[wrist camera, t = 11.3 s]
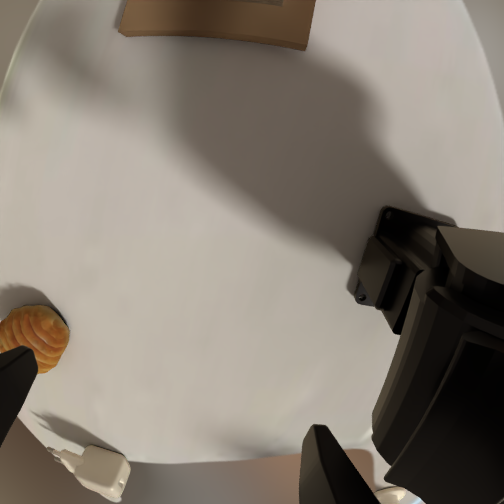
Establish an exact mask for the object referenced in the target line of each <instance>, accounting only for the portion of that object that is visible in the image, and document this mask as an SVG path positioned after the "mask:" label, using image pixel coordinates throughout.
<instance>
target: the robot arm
mask: <svg viewBox="0 0 504 504" xmlns="http://www.w3.org/2000/svg"><path fill="white" fill-rule="evenodd" d="M388 211H391V216H390V217H389V218H386V213H387V212H388ZM357 275H358V277H359V281H358V284H357V287H356V290H355V293H354V298H355V301H356V302H357V303H358V304H361V305H367V306H373V307H375V308H376V309H377V310H381V311H382V313H383V315H384V317H385V318H386V320H387V322H388V324H389V326H390V328H391V329H392V331H393V333H394V334H397V335H401V336H400V339H399V342H398V345H397V348H396V351H395V354H394V357H393V360H392V363H391V366H390V369H389V371H388V374H387V377H386V380H385V382H384V385H383V387H382V390H381V393H380V395H379V398H378V400H377V403H376V405H375V407H374V410H373V412H372V430H373V434H372V441H373V443H374V445H375V447H376V450H377V451H378V452H379V454H380V455H381V456H382V457H383V458H384V460H385V461H386V462H387V463H388V464H389V465H391V468H390V469H389V471H388V472H387V473H386V475H385V476H384V480H385V481H386V482H388V483H391V484H394V485H396V486H399V487H402V488H405V489H407V490H408V491H410V492H411V493H413V494H415V495H416V496H418V497H419V498H421V499H422V500H423V501H424V502H425V503H426V504H504V233H502V232H493V231H485V230H476V229H466V228H459V227H457V226H454V225H451V224H448V223H445V222H442V221H439V220H435V219H432V218H429V217H426V216H423V215H419V214H416V213H413V212H409V211H406V210H402V209H399V208H396V207H392V206H384V207H383V208H382V209H381V211H380V214H379V218H378V221H377V225H376V228H375V231H374V235H372V236H371V237H370V238H369V239H368V242H367V246H366V249H365V252H364V255H363V258H362V261H361V265H360V268H359V271H358V274H357ZM362 294H365V296H364V297H363V298H359V296H360V295H362ZM37 373H38V364H37V361H36V357H35V354H34V351H33V350H32V349H31V348H29V347H27V346H25V345H21V346H18V347H16V348H13V349H11V350H8V351H5V352H3V353H0V447H1V445H2V443H3V441H4V439H5V437H6V435H7V433H8V431H9V430H10V428H11V426H12V424H13V422H14V421H15V419H16V417H17V415H18V413H19V412H20V410H21V408H22V406H23V404H24V402H25V399H26V397H27V395H28V393H29V391H30V388H31V386H32V384H33V382H34V380H35V378H36V375H37ZM299 504H381V503H380V502H379V500H378V499H377V498H376V496H375V495H374V493H373V492H372V491H371V489H370V488H369V486H368V485H367V484H366V482H365V481H364V479H363V478H362V476H361V475H360V474H359V472H358V471H357V469H356V468H355V467H354V465H353V463H352V462H351V461H350V459H349V458H348V457H347V455H346V453H345V452H344V450H343V449H342V448H341V446H340V445H339V443H338V442H337V440H336V439H335V437H334V436H333V434H332V433H331V431H330V430H329V428H328V427H327V426H326V425H320V424H313V425H312V426H311V427H310V429H309V431H308V433H307V434H306V436H305V438H304V440H303V444H302V456H301V468H300V481H299Z"/></svg>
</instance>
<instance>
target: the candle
mask: <svg viewBox="0 0 504 504" xmlns="http://www.w3.org/2000/svg"><path fill="white" fill-rule="evenodd" d="M405 494H406V491H405V489H404V488H402V487H392V488H387V489H383V490H380V491H377V492H374V495H375V496H376V498H377V499H378V500H379V502H380V503H381V504H399V500H400V499H402V498H403V497H404V496H405Z"/></svg>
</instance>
